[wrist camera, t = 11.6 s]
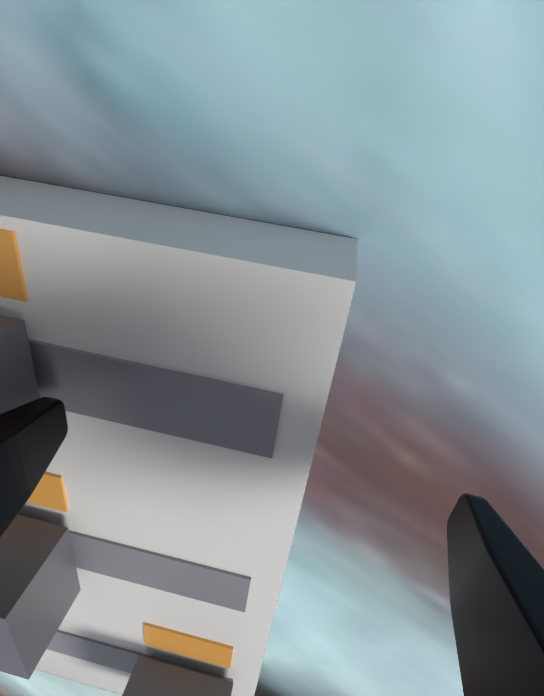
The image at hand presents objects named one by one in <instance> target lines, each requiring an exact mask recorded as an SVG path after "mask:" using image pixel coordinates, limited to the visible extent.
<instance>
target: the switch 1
mask: <svg viewBox="0 0 544 696" xmlns="http://www.w3.org/2000/svg"><path fill="white" fill-rule="evenodd" d="M39 398H40V395H39V390H38V385H37V380H36V375H35V370H34V365H33V360H32V355H31V350H30V345H29V341H28V336H27V331H26V326H25V321H24V320H21V319H16V318H12V317H7V316H2V315H0V414H1V413H4V412H6V411H9V410H11V409H14V408H16V407H19V406H21V405H24V404H26V403H29V402H31V401H34V400H36V399H39Z"/></svg>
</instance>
